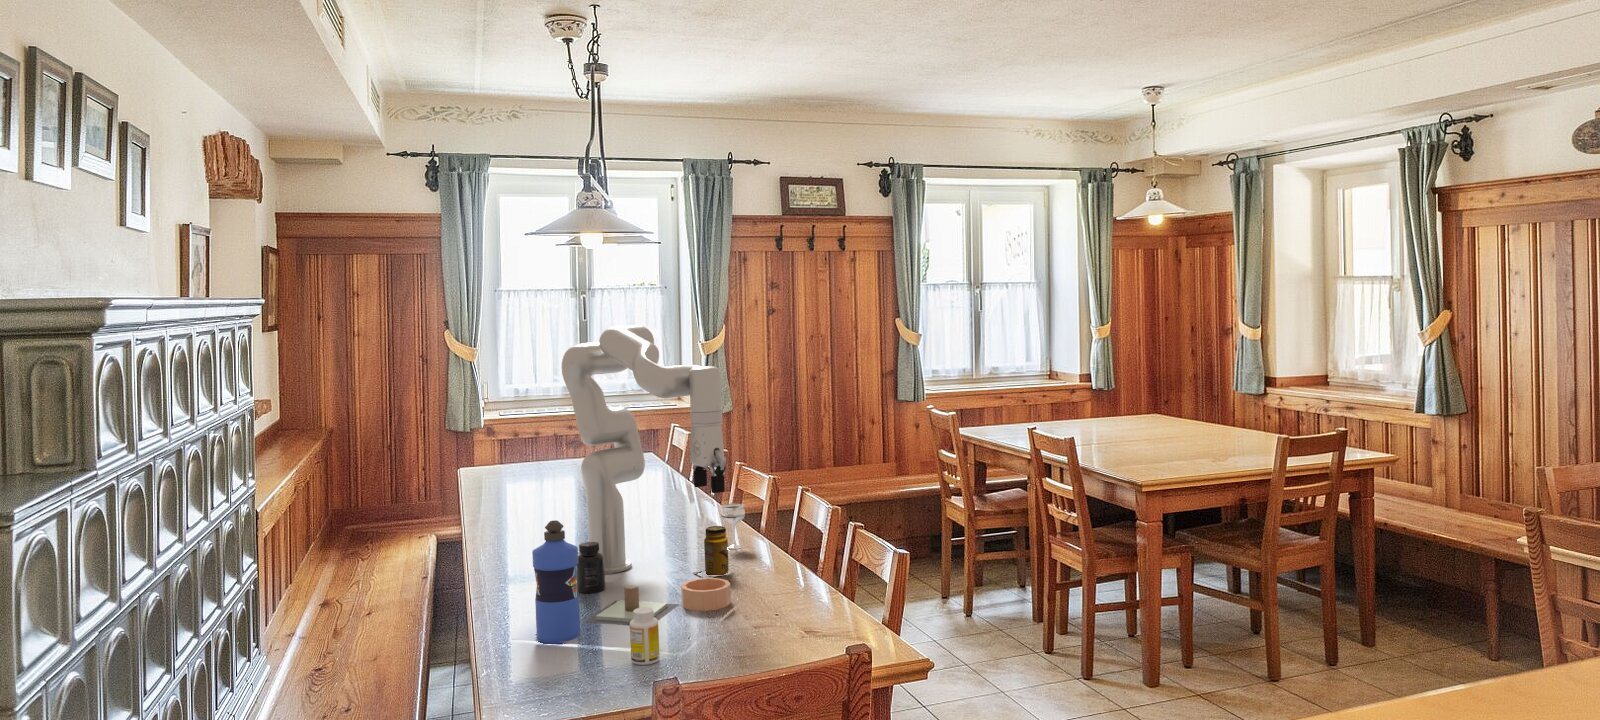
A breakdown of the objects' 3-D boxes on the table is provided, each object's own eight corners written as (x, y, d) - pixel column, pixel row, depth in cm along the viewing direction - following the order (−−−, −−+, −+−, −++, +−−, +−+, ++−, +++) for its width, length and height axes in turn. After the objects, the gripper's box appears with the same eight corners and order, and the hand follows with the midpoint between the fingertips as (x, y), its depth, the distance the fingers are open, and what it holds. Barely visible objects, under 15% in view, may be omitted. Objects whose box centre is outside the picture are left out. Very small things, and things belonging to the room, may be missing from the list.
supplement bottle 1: (610, 589, 252) (608, 541, 251) (596, 597, 246) (594, 547, 245) (586, 587, 254) (584, 539, 253) (571, 595, 248) (569, 546, 247)
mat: (583, 624, 225) (583, 621, 225) (615, 602, 240) (615, 600, 240) (650, 629, 221) (650, 626, 221) (679, 606, 236) (678, 604, 236)
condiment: (735, 574, 263) (733, 528, 262) (705, 580, 258) (704, 533, 257) (721, 568, 269) (719, 523, 268) (692, 573, 264) (690, 528, 263)
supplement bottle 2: (659, 655, 205) (657, 604, 204) (660, 664, 199) (658, 613, 199) (630, 657, 204) (628, 607, 203) (631, 667, 198) (629, 615, 198)
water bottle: (584, 629, 222) (580, 515, 220) (577, 644, 212) (572, 525, 211) (541, 631, 221) (536, 517, 220) (531, 646, 212) (526, 527, 210)
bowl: (675, 611, 233) (674, 590, 232) (693, 597, 243) (692, 576, 243) (720, 614, 230) (719, 592, 229) (736, 600, 240) (736, 579, 240)
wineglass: (745, 550, 287) (743, 507, 286) (721, 550, 287) (719, 508, 286) (746, 544, 294) (745, 503, 293) (723, 544, 294) (722, 503, 293)
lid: (595, 619, 226) (594, 593, 226) (619, 603, 238) (618, 578, 238) (645, 623, 223) (644, 596, 223) (667, 606, 235) (666, 581, 234)
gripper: (677, 416, 249) (680, 486, 250) (707, 423, 234) (710, 496, 235) (705, 414, 253) (708, 482, 254) (736, 420, 238) (739, 492, 239)
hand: (709, 489), depth 245 cm, fingers open, 9 cm apart
